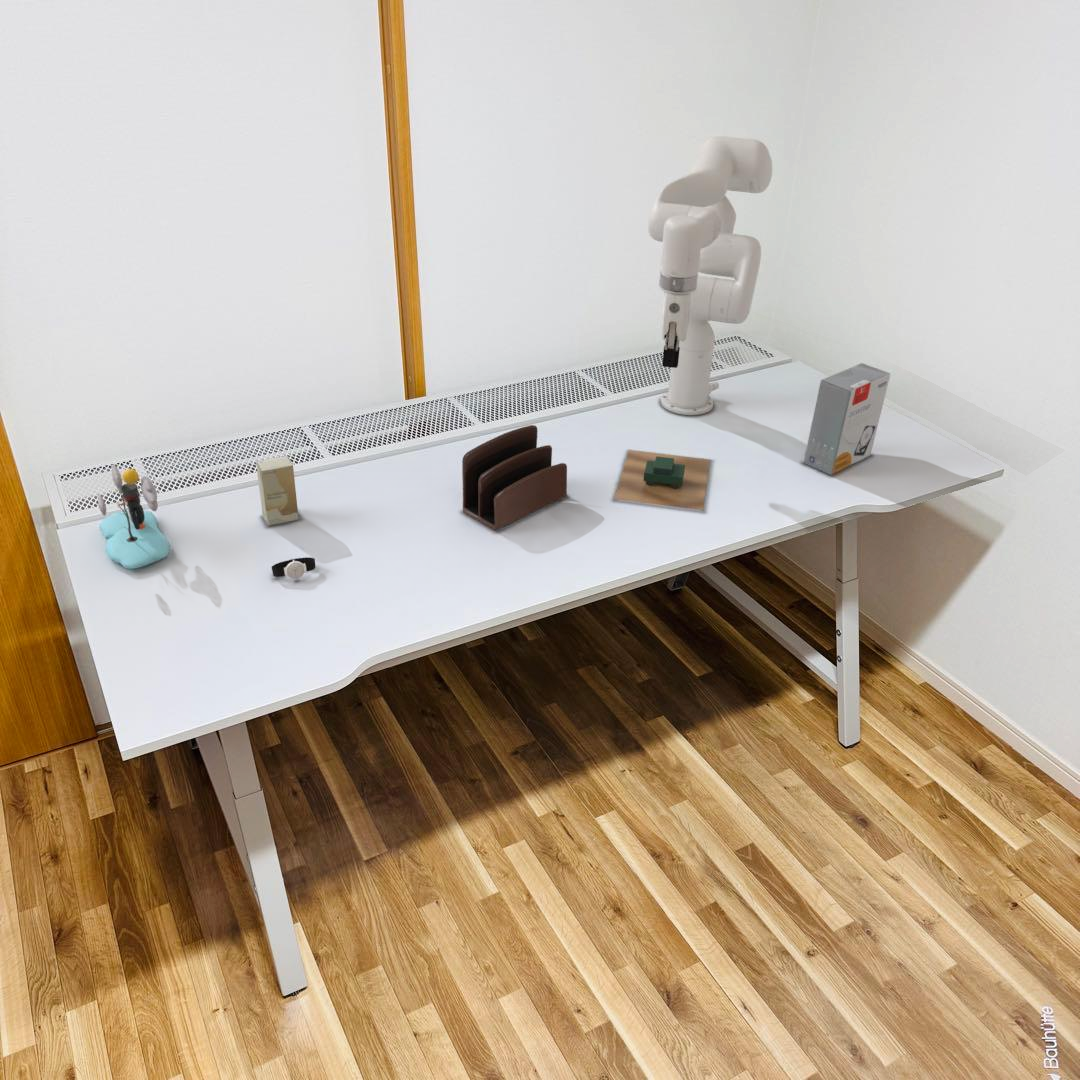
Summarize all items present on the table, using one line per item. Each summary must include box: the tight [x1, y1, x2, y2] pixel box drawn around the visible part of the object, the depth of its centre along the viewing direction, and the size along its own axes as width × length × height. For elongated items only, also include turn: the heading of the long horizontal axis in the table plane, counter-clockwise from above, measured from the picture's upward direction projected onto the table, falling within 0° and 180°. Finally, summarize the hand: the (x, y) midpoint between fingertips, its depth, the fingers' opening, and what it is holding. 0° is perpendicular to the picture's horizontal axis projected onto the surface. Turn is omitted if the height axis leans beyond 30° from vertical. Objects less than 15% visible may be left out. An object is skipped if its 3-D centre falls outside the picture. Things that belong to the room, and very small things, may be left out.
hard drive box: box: [803, 362, 891, 476], centre depth 213 cm, size 16×8×20 cm, turn 131°
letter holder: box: [461, 424, 568, 531], centre depth 195 cm, size 10×20×14 cm, turn 134°
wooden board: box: [613, 449, 711, 512], centre depth 208 cm, size 22×18×1 cm
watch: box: [271, 556, 316, 580], centre depth 176 cm, size 8×5×4 cm, turn 114°
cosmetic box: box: [255, 455, 300, 526], centre depth 189 cm, size 6×4×12 cm
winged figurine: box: [97, 463, 170, 570], centre depth 179 cm, size 20×11×15 cm, turn 28°
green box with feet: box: [643, 456, 685, 489], centre depth 206 cm, size 8×4×6 cm
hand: (670, 365), depth 207 cm, fingers closed
